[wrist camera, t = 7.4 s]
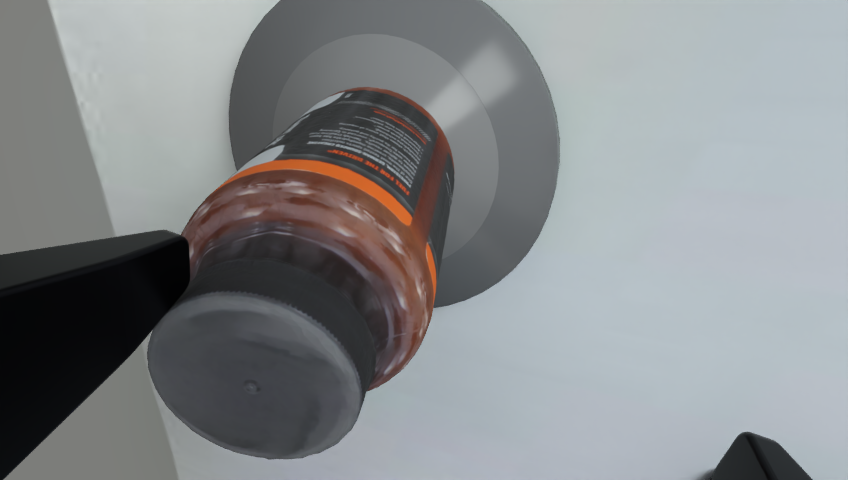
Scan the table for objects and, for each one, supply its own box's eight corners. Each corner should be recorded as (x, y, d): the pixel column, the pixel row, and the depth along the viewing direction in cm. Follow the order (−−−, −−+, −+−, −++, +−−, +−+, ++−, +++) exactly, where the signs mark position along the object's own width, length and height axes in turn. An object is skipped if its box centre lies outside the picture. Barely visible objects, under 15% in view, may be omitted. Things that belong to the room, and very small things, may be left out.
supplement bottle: (282, 83, 18) (32, 233, 8) (455, 80, 18) (407, 237, 8) (307, 237, 21) (143, 486, 11) (457, 239, 20) (425, 508, 10)
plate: (501, 338, 23) (496, 352, 22) (238, 240, 25) (223, 250, 24) (618, 23, 16) (619, 26, 16) (251, -73, 19) (232, -75, 18)
